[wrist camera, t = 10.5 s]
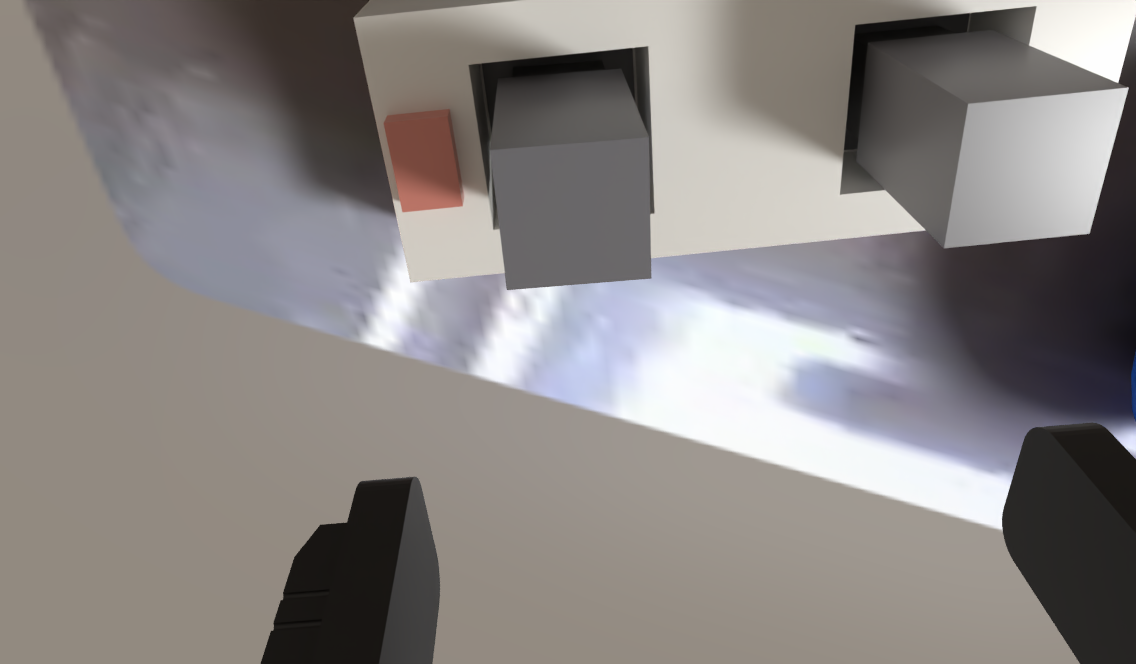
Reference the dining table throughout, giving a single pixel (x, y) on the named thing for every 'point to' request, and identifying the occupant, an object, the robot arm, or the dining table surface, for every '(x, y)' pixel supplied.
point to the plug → (570, 177)
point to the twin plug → (982, 133)
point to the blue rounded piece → (1134, 387)
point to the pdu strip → (672, 107)
